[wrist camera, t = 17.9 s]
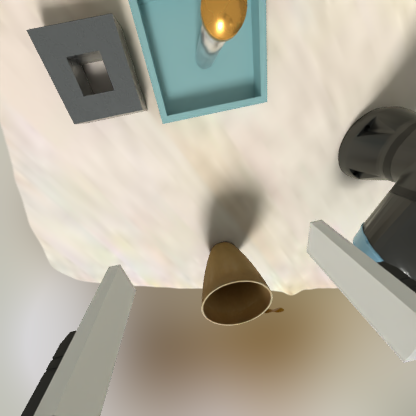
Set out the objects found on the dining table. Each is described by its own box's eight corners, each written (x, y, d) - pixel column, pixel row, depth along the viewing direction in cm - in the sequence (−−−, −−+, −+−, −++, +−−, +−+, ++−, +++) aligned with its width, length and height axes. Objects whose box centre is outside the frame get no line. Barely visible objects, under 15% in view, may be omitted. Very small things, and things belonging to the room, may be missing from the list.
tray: (253, -24, 25) (265, -47, 22) (258, 103, 33) (267, 101, 29) (131, -1, 25) (122, -20, 21) (165, 122, 32) (162, 123, 29)
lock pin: (214, 38, 27) (245, -34, 14) (218, 70, 29) (248, 33, 16) (189, 43, 27) (196, -25, 14) (195, 75, 29) (206, 41, 16)
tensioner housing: (121, 27, 26) (111, 13, 22) (147, 110, 31) (142, 109, 28) (47, 41, 26) (26, 29, 22) (86, 123, 31) (74, 124, 27)
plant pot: (217, 221, 44) (234, 270, 31) (257, 244, 50) (286, 295, 36) (186, 259, 49) (187, 316, 35) (225, 276, 55) (240, 332, 41)
